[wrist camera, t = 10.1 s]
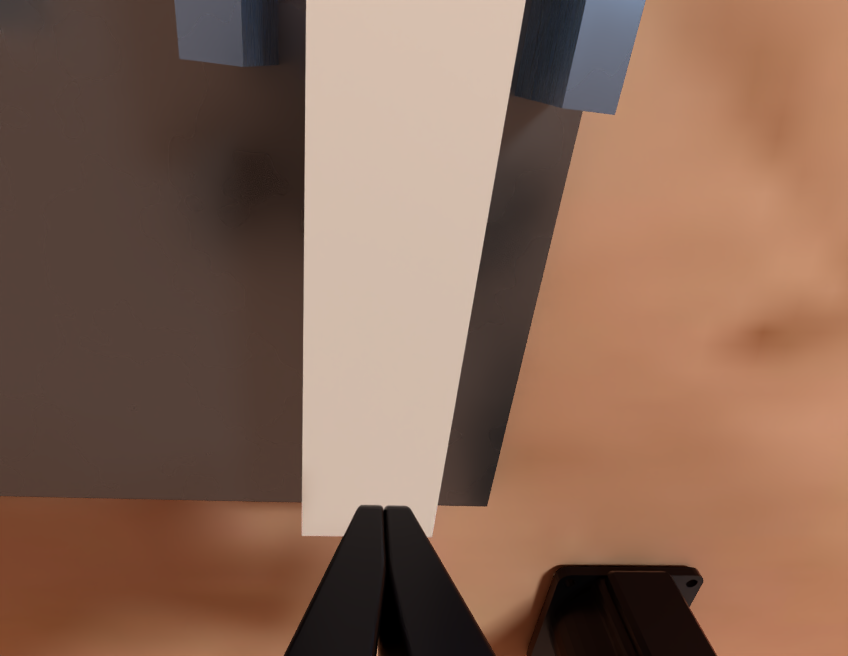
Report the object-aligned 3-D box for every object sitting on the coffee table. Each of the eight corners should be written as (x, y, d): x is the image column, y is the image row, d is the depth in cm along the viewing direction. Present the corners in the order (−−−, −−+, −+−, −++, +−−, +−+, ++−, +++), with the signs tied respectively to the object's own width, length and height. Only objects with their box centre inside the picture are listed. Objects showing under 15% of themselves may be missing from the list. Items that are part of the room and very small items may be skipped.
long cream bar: (421, 450, 17) (432, 537, 14) (315, 447, 17) (301, 536, 14) (525, -268, 9) (600, -428, 6) (332, -311, 9) (309, -506, 6)
